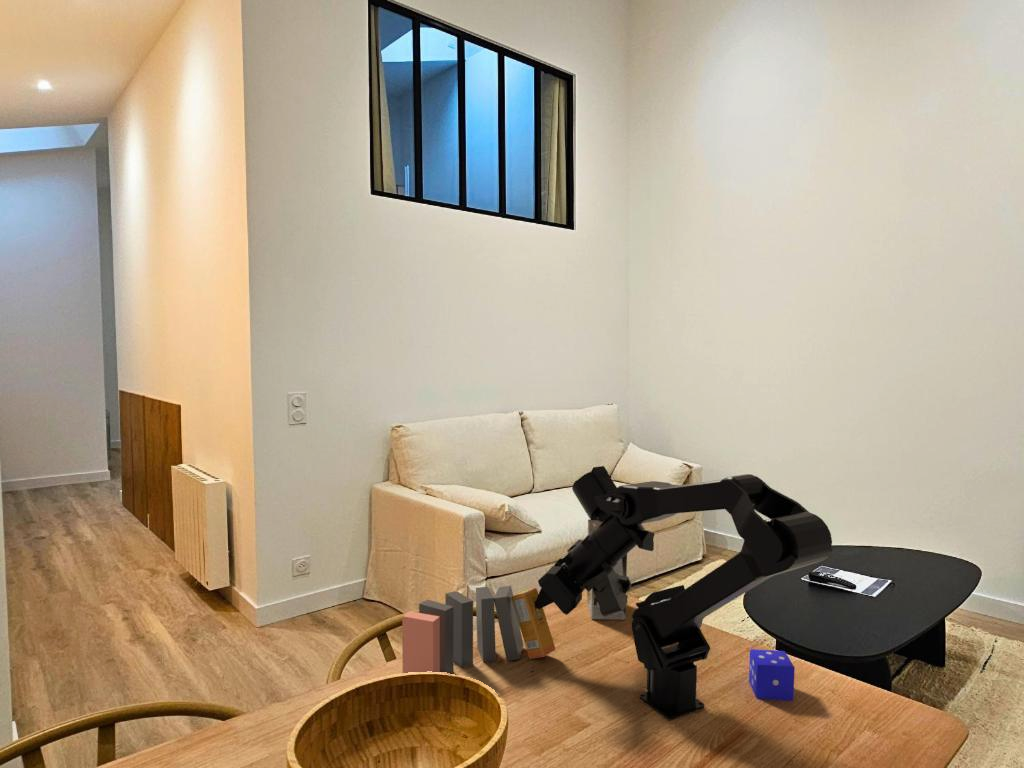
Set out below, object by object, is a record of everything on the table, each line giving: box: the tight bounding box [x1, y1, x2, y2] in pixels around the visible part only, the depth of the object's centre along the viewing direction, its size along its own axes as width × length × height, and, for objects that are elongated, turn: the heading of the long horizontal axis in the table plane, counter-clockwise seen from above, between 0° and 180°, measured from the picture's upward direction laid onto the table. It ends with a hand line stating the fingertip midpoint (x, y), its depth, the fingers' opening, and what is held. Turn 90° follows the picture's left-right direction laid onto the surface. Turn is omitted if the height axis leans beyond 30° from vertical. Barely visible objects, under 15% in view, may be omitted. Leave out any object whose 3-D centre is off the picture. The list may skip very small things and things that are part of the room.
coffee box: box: [586, 519, 628, 621], centre depth 128 cm, size 9×6×16 cm
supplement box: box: [511, 587, 556, 660], centre depth 110 cm, size 3×3×10 cm
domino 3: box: [444, 590, 474, 668], centre depth 108 cm, size 2×5×10 cm, turn 35°
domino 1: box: [401, 610, 440, 674], centre depth 100 cm, size 2×5×10 cm, turn 68°
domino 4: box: [475, 586, 497, 663], centre depth 110 cm, size 2×5×10 cm, turn 13°
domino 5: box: [493, 585, 524, 661], centre depth 110 cm, size 2×5×10 cm, turn 171°
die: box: [748, 648, 795, 702], centre depth 99 cm, size 5×5×5 cm
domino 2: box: [418, 599, 454, 674], centre depth 105 cm, size 2×5×10 cm, turn 57°
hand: (537, 606), depth 109 cm, fingers closed
